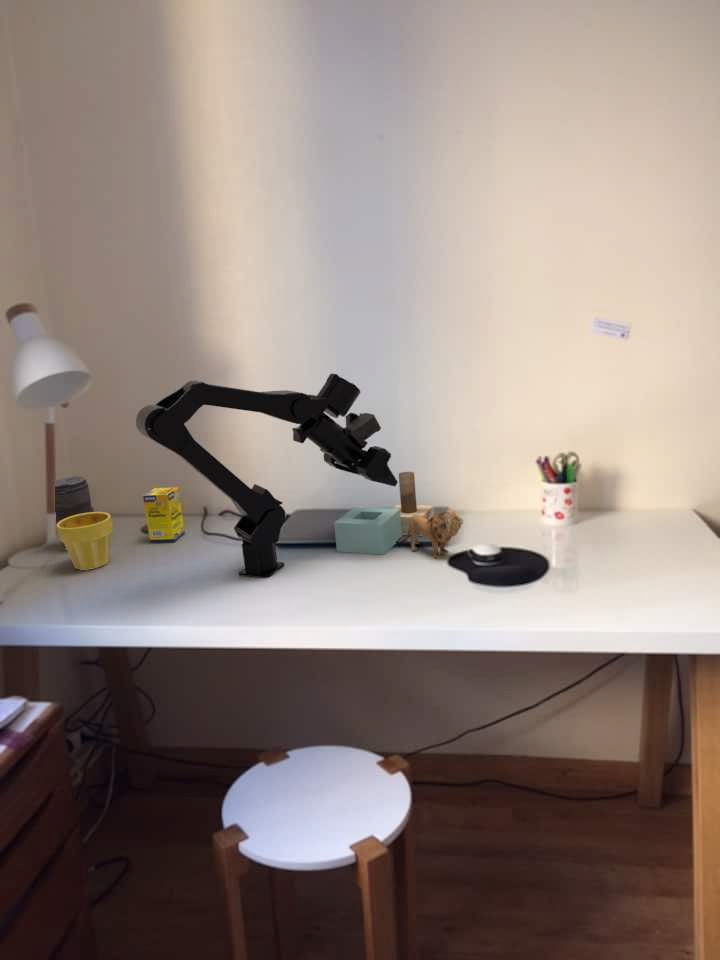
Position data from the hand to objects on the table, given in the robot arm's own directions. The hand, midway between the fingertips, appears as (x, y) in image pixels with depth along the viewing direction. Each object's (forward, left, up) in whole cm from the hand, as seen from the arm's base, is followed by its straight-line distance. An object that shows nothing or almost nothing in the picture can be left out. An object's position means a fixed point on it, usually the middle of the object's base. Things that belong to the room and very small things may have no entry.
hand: (384, 480), depth 149 cm
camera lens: (-18, +67, -12) cm, 70 cm away
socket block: (-6, +2, -12) cm, 13 cm away
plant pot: (-27, +55, -12) cm, 62 cm away
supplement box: (-10, +49, -12) cm, 51 cm away
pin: (+4, -3, -8) cm, 9 cm away
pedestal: (+4, -3, -12) cm, 13 cm away
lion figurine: (-7, -12, -12) cm, 18 cm away
